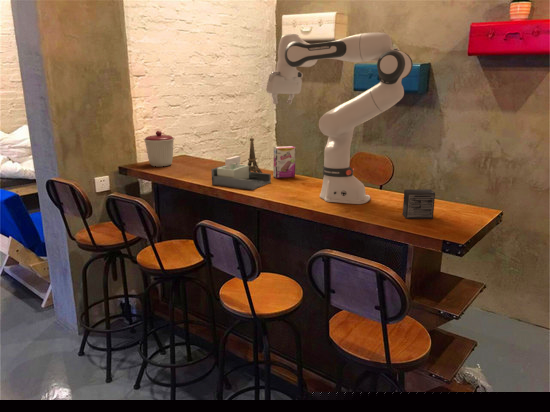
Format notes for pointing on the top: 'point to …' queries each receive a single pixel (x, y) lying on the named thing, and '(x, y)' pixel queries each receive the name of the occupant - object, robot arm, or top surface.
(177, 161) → the top surface
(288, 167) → the candy bar box
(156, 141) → the canister
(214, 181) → the bay
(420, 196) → the small box
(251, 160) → the eiffel tower
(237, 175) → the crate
